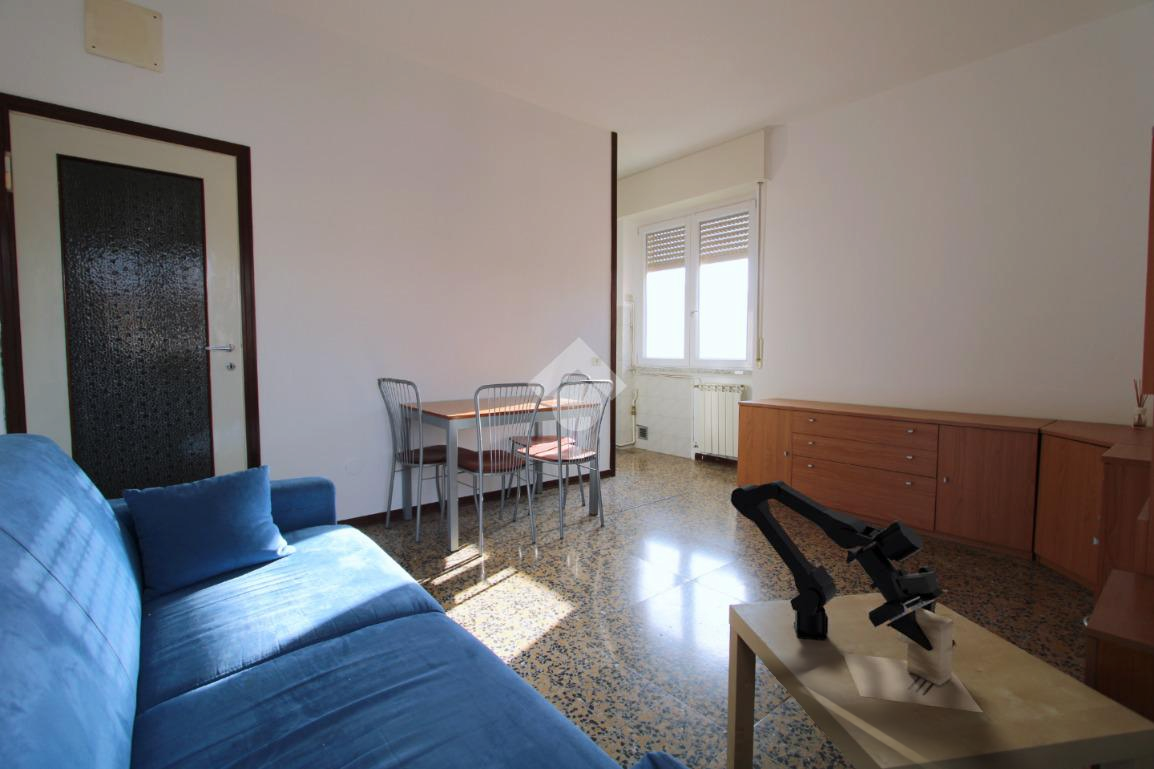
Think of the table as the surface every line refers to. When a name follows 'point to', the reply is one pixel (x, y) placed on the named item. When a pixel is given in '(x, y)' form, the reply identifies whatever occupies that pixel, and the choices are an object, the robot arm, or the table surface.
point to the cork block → (937, 660)
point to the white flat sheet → (905, 684)
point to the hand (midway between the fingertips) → (937, 646)
